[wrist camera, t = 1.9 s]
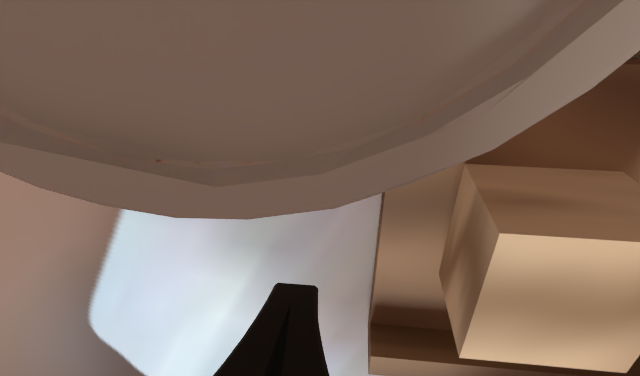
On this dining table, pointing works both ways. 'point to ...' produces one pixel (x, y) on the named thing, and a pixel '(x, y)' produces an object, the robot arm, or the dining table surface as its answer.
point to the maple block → (545, 267)
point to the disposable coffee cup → (283, 94)
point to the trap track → (435, 217)
